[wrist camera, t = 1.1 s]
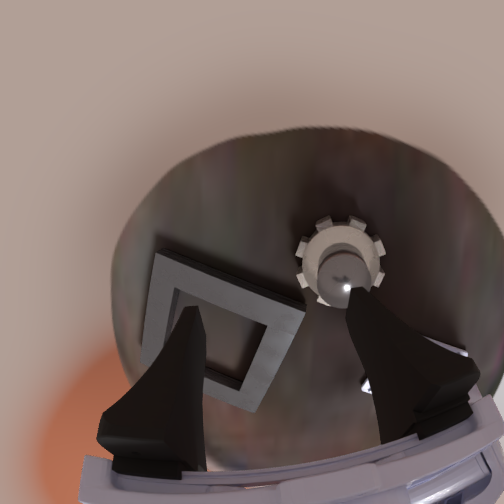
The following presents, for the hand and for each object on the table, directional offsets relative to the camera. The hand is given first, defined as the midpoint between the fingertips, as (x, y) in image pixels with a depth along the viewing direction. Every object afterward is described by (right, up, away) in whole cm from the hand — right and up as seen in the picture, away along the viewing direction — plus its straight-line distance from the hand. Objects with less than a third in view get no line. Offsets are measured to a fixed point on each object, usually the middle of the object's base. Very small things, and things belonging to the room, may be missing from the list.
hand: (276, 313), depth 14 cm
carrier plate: (-5, -5, +15) cm, 17 cm away
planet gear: (+6, +2, +10) cm, 12 cm away
